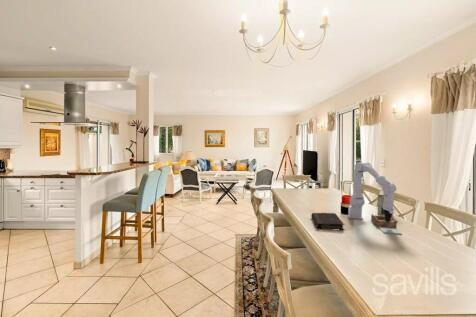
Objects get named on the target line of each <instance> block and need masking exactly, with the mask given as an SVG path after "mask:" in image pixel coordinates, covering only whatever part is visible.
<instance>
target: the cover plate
mask: <svg viewBox="0 0 476 317" xmlns="http://www.w3.org/2000/svg"><path fill="white" fill-rule="evenodd" d="M377 228H378V229H379V230H380V231H381V232H382V233H383V234H389V235H398V236H399V235H400V236H402V235H403V233H402V232H401V231H400V230H399V229H397V228H390V227H377Z"/></svg>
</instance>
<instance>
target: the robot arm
mask: <svg viewBox="0 0 476 317" xmlns="http://www.w3.org/2000/svg"><path fill="white" fill-rule="evenodd" d="M366 172H367V173H368V174H370V175H371V176H372V177H373V178H374V179H375V182H376V183H377V185H379V186H380V187H381V190H382V191H383V193H382V195H384V203H383V209H385V210H383V213H384V215H385V220H386V221H388V222H390V219H391V217H393V216H392V215H394V212H395V211H394V210H396V208H395V207H394V200H395V199H394V198H395V192H396V191H397V186H396V184H394V183H391V182H390V181H389V180H387V178H386V177H385V176H383V175H380V174H379V172H377V170H375V168H373V165H372V164H371V163H370V162H356V163H355V165H354V170H353V193H352V194H351V196H350V198H349V204H350V205H349V206H348V212H347V214H348V217H349V219H355V220H356V219H358V220H363V219H364V218H363V217H362V216H363V207H364V205H365V203H366V202H365V199H364V197H365V196H364V195H363V194H362V186H363V184H362V175H363V174H365V173H366Z"/></svg>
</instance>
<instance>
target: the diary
mask: <svg viewBox="0 0 476 317" xmlns="http://www.w3.org/2000/svg"><path fill="white" fill-rule="evenodd" d="M311 218H312V221H313V222H314V224H315V227H316V229H317V230H319V229H320V230H321V229H322V230H332V229H339V230H338V231H345V228H343V227H344V226H345V223H344V222H343V221H342V220H341V218H340V217H339V216H338V215H337V213H334V212H311Z"/></svg>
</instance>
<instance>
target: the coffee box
mask: <svg viewBox="0 0 476 317" xmlns="http://www.w3.org/2000/svg"><path fill="white" fill-rule="evenodd" d="M383 203H384V194H378V195H377V215H378V216H385V215H384V213H383V210H385V209H383ZM393 215H394V214H393ZM393 215H392V216H391V217H393Z"/></svg>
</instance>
